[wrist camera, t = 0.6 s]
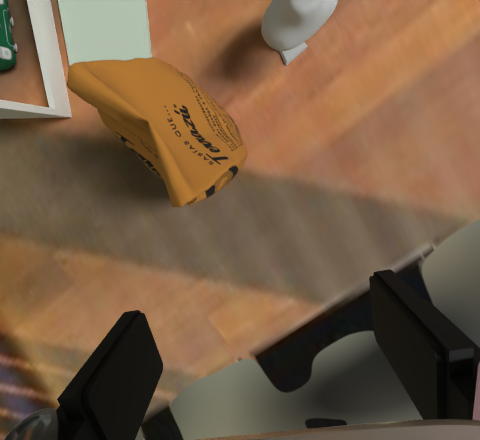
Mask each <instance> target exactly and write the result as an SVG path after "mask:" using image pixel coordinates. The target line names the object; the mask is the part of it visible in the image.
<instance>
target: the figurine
mask: <svg viewBox="0 0 480 440" xmlns="http://www.w3.org/2000/svg"><path fill="white" fill-rule="evenodd" d="M337 1H338V0H273V1H272V2H271V4H270V5H269V7H268V8H267V10H266V12H265V14H264V17H263V20H262V24H261V33H262V36H263V38H264V40H265V41H266V43H267V44H268V45H269V46H270V47H271V48H273V49H275V50H277V51H279V52H280V54H281V57H282V59H283V61H284V63H285V65H288V64H289V63H290V62H291V61H292V60H293V59H295V58H296V57H297V56H298V55H299V54H300V53H301V52H302V51H304V50H305V49H306V48H307V45H306V44H305V43H304V42H305V41H306V40H307V39H309V38H310V37H311V36H312V35H314V34H315V33H316V32H317V31H318V30H319V29H320V27H321V26H322V25H323V24H324V23H325V22H326V21H327V19H328V18H329V17H330V16H331V14H332V13H333V11H334V9H335V7H336V5H337Z"/></svg>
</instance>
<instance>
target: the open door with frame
mask: <svg viewBox="0 0 480 440" xmlns="http://www.w3.org/2000/svg"><path fill="white" fill-rule="evenodd" d="M27 3H28V8H29V13H30V18H31V22H32V27H33V32H34V37H35V42H36V47H37V51H38V56H39V61H40V66H41V71H42V75H43V80H44V85H45V90H46V95H47V99H48V104H49V108H48V107H42V106H36V105H30V104H23V103H17V102H11V101H5V100H0V119H22V118H66V117H72V114H71V109H70V104H69V98H68V93H67V88H66V82H65V77H64V71H63V66H62V61H61V55H60V50H59V45H58V39H57V34H56V28H55V23H54V18H53V12H52V7H51V2H50V0H27Z"/></svg>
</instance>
